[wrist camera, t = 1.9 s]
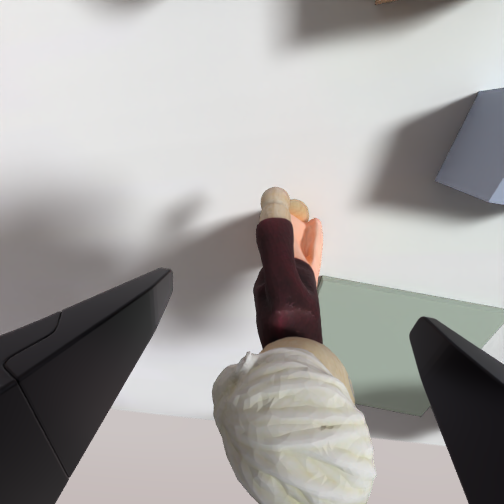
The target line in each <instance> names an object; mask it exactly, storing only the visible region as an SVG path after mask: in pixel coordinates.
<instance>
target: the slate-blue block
mask: <svg viewBox="0 0 504 504" xmlns="http://www.w3.org/2000/svg"><path fill="white" fill-rule="evenodd" d="M435 181H436V182H439V183H441V184H444V185H446V186H449V187H451V188H454V189H456V190H459V191H461V192H464V193H466V194H469V195H471V196H474V197H477V198H479V199H482V200H484V201H487V202H490V203H496V204H502V205H504V88H499V89H492V90H486V91H479V93H478V95H477V97H476V99H475V101H474V103H473V105H472V107H471V109H470V111H469V113H468V115H467V117H466V119H465V121H464V123H463V125H462V127H461V129H460V131H459V133H458V135H457V137H456V139H455V141H454V143H453V145H452V147H451V149H450V151H449V153H448V155H447V157H446V159H445V161H444V163H443V165H442V167H441V169H440V171H439V173H438V175H437V177H436V179H435Z"/></svg>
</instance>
